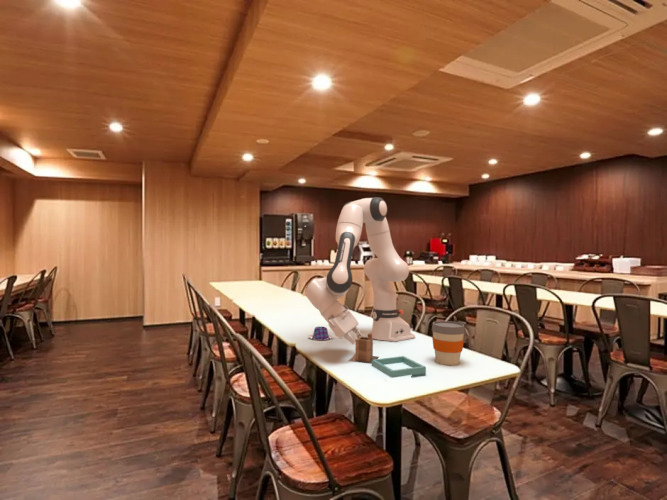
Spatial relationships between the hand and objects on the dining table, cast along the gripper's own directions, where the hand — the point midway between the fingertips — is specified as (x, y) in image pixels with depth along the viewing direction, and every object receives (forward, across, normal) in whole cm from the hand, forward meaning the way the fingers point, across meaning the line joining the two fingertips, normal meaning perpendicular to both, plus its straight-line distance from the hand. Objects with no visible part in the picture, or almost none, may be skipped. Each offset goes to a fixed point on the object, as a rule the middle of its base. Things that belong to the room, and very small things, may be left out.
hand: (357, 340), depth 153 cm
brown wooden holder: (+7, 0, +3) cm, 8 cm away
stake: (+8, 0, +4) cm, 8 cm away
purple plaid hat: (-13, +29, +25) cm, 40 cm away
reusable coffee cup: (+30, +12, -18) cm, 37 cm away
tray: (+18, -7, -6) cm, 20 cm away
